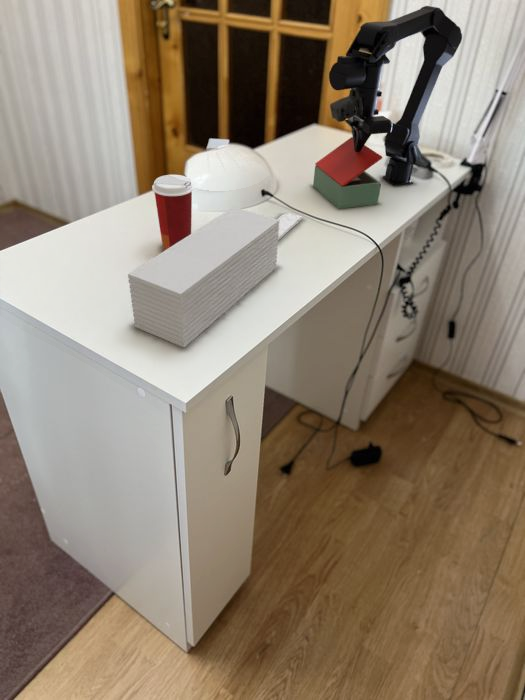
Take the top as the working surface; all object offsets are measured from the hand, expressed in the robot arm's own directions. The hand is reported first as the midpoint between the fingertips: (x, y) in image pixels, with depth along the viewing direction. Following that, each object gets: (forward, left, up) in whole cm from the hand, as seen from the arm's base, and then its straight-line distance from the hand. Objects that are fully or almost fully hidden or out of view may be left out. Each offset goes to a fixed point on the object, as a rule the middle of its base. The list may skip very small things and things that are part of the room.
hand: (357, 151), depth 136 cm
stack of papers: (+50, +36, -12) cm, 63 cm away
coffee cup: (+52, +16, -12) cm, 56 cm away
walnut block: (+1, 0, -11) cm, 11 cm away
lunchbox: (+2, 0, -11) cm, 11 cm away
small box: (+32, -17, -12) cm, 38 cm away
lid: (+2, 0, -2) cm, 3 cm away
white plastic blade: (+27, +14, -11) cm, 32 cm away
